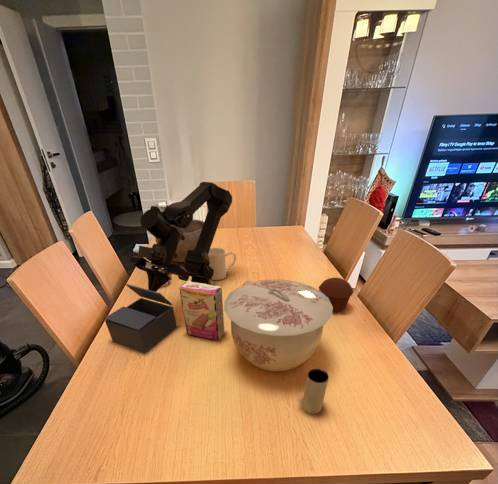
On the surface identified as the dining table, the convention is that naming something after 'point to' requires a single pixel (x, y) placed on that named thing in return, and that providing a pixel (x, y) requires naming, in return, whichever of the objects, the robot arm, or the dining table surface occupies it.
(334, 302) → the muffin
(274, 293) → the chamber pot
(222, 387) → the dining table surface
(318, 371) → the grey black-topped cylinder
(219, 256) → the mug
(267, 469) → the dining table surface
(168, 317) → the carton
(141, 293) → the flap
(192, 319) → the candy bar box
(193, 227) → the bowl
